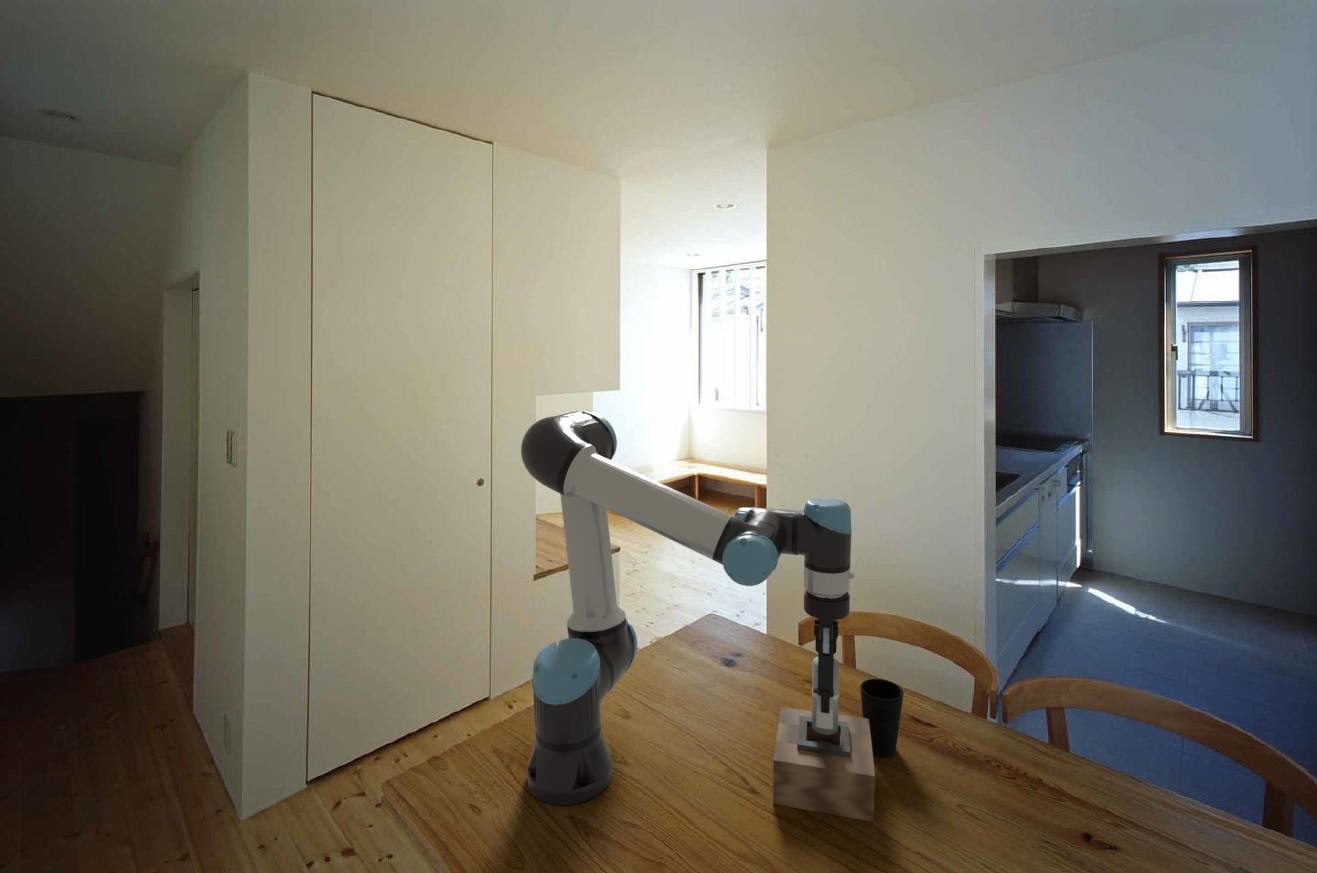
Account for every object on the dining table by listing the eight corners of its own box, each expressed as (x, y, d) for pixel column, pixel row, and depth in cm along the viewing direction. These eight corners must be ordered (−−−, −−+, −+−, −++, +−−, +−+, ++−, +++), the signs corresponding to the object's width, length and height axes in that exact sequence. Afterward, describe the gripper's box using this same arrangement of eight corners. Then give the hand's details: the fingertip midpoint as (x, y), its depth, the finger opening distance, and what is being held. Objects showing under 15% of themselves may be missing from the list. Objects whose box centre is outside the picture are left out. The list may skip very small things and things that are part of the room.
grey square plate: (809, 759, 105) (809, 755, 105) (810, 743, 110) (810, 739, 110) (837, 763, 104) (837, 759, 104) (836, 747, 109) (836, 743, 108)
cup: (905, 763, 112) (907, 702, 110) (862, 759, 113) (863, 698, 112) (897, 737, 119) (898, 680, 118) (856, 734, 121) (857, 677, 119)
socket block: (773, 804, 102) (773, 754, 101) (780, 745, 117) (780, 701, 116) (873, 822, 98) (875, 770, 97) (867, 758, 113) (868, 713, 112)
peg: (811, 733, 105) (812, 667, 103) (811, 718, 109) (812, 654, 108) (838, 736, 104) (839, 670, 102) (838, 721, 108) (839, 657, 106)
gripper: (851, 613, 94) (848, 753, 97) (848, 574, 110) (845, 694, 113) (801, 609, 96) (800, 746, 99) (805, 571, 112) (804, 689, 115)
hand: (824, 718), depth 106 cm, fingers closed on peg, 4 cm apart
